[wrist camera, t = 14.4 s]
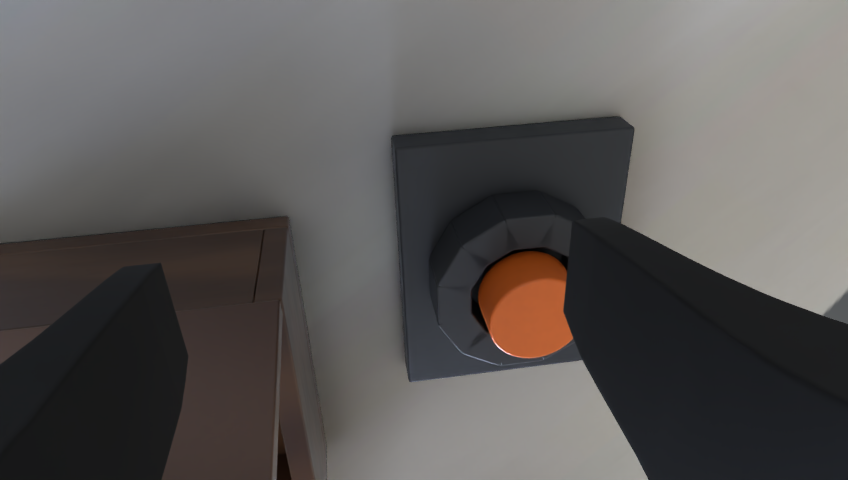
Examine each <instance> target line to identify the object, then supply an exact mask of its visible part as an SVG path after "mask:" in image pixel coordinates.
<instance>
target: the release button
mask: <svg viewBox="0 0 848 480" xmlns="http://www.w3.org/2000/svg"><path fill="white" fill-rule="evenodd" d="M566 278H567V270H566V269H565V267H564V266H563V265H562V263H561V262H560V261H559V260H558V259H556V258H555V257H553V256H551V255H549V254H546V253H543V252H538V251H523V252H518V253H515V254H512V255H509V256H507V257H505V258H503V259H501V260H500V261H498V262H497V263H496V264H495V265H493V266H492V267H491V268H490V269H489V270H488V272H487V273H486V274H485V276H484V278H483V279H482V281H481V284H480V287H479V291H478V302H479V306H480V309H481V312H482V314H483V317H484V320H485V322H486V325H487V328H488V330H489V333H490V336H491V338H492V340H493V342H494V343H495V344H496V346H497V347H498V348H500V349H501V350H502V351H504V352H505V353H507V354H509V355H512V356H515V357H520V358H536V357H542V356H545V355H548V354H551V353H553V352H555V351H557V350H559V349H561V348H562V347H564V346H565V345H567V344H568V343H569V342H570V341H571V340H572V339H573V336H572V334H571V331H570V328H569V326H568V323H567V320H566V318H565V315H564V312H563V308H564V298H565V288H566Z"/></svg>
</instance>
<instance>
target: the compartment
mask: <svg viewBox="0 0 848 480" xmlns="http://www.w3.org/2000/svg"><path fill="white" fill-rule="evenodd" d="M153 263H161V265H162V268H163V271H164V275H165V278H166V282H167V285H168V288H169V292H170V295H171V298H172V302H173V305H174V309H175V311H183V310H192V309H201V308H210V307H219V306H228V305H237V304H246V303H255V302H264V301H273V300H279V301H280V304H281V309H282V314H283V318H282V345H281V372H280V400H279V427H278V454H277V480H327V459H326V458H327V446H326V440H325V433H324V427H323V421H322V415H321V409H320V403H319V397H318V391H317V385H316V379H315V372H314V366H313V360H312V354H311V348H310V342H309V336H308V330H307V324H306V318H305V311H304V305H303V299H302V293H301V287H300V281H299V275H298V269H297V263H296V256H295V250H294V244H293V238H292V232H291V226H290V220H289V217H288V216H284V217H274V218H264V219H254V220H243V221H233V222H223V223H213V224H202V225H192V226H182V227H172V228H161V229H151V230H141V231H131V232H120V233H110V234H100V235H90V236H79V237H69V238H59V239H49V240H38V241H28V242H18V243H8V244H0V331H4V330H13V329H22V328H31V327H40V326H49V325H51V324H53V323H54V322H55V321H56V320H57V319H59V318H60V317H61V316H62V315H63V314H65V313H66V312H67V311H68V310H70V309H71V308H72V307H73V306H74V305H76V304H77V303H78V302H79V301H80V300H82V299H83V298H84V297H85V296H86V295H88V294H89V293H90V292H91V291H92V290H94V289H95V288H96V287H97V286H98V285H100V284H101V283H102V282H103V281H105V280H106V279H107V278H108V277H110V276H111V275H112V274H114V273H115V272H116V271H118V270H119V269H121V268H122V267H124V266H134V265H143V264H153Z"/></svg>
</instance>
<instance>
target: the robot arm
mask: <svg viewBox="0 0 848 480" xmlns="http://www.w3.org/2000/svg"><path fill="white" fill-rule="evenodd" d="M563 312H564V315H565V318H566V320H567V323H568V326H569V328H570V331H571V334H572V336H573V339H574V341H575V344H576V346H577V349H578V351H579V354H580V356H581V358H582V360H583V362H584V364H585V366H586V367H587V369H588V371H589V373H590V375H591V376H592V378H593V380H594V382H595V384H596V385H597V387H598V389H599V391H600V393H601V394H602V396H603V398H604V400H605V401H606V403H607V405H608V407H609V408H610V410H611V412H612V414H613V415H614V417H615V419H616V421H617V422H618V424H619V426H620V428H621V430H622V431H623V433H624V435H625V437H626V438H627V440H628V442H629V444H630V445H631V447H632V449H633V451H634V452H635V454H636V456H637V458H638V460H639V462H640V464H641V466H642V468H643V470H644V472H645V474H646V475H647V477H648V479H649V480H848V324H846V323H843V322H839V321H837V320H833V319H830V318H827V317H825V316H822V315H819V314H816V313H814V312H811V311H808V310H806V309H803V308H800V307H797V306H795V305H792V304H789V303H787V302H784V301H781V300H779V299H776V298H774V297H771V296H769V295H767V294H764V293H762V292H759V291H757V290H755V289H753V288H750V287H748V286H746V285H744V284H741V283H739V282H737V281H735V280H733V279H730V278H728V277H726V276H724V275H722V274H719V273H717V272H715V271H713V270H711V269H709V268H707V267H705V266H703V265H701V264H699V263H697V262H695V261H693V260H691V259H689V258H687V257H685V256H683V255H681V254H679V253H677V252H675V251H673V250H671V249H669V248H668V247H666V246H664V245H662V244H660V243H658V242H656V241H654V240H652V239H650V238H648V237H646V236H645V235H643V234H641V233H639V232H637V231H635V230H633V229H631V228H629V227H627V226H625V225H623V224H621V223H618V222H616V221H614V220H611V219H609V218H606V217H598V218H589V219H579V220H572V228H571V238H570V248H569V258H568V268H567V278H566V288H565V298H564V308H563ZM187 364H188V353H187V349H186V346H185V342H184V339H183V336H182V332H181V329H180V325H179V322H178V319H177V315H176V312H175V309H174V305H173V302H172V298H171V295H170V292H169V288H168V285H167V282H166V278H165V275H164V271H163V268H162V265H161V263H153V264H143V265H134V266H124V267H122V268H121V269H119V270H118V271H116V272H115V273H114V274H112V275H111V276H110V277H108V278H107V279H106V280H105V281H103V282H102V283H101V284H100V285H98V286H97V287H96V288H95V289H94V290H92V291H91V292H90V293H89V294H88V295H86V296H85V297H84V298H83V299H82V300H80V301H79V302H78V303H77V304H76V305H74V306H73V307H72V308H71V309H70V310H68V311H67V312H66V313H65V314H63V315H62V316H61V317H60V318H59V319H57V320H56V321H55V322H54V323H53V324H51V325H50V326H49V327H48V328H46V329H45V330H44V331H43V332H42V333H40V334H39V335H38V336H37V337H35V338H34V339H33V340H32V341H30V342H29V343H28V344H26V345H25V346H24V347H22V348H21V349H20V350H18V351H17V352H16V353H14V354H13V355H12V356H10V357H9V358H8V359H7V360H5V361H4V362H3V363H1V364H0V480H162V476H163V473H164V469H165V466H166V462H167V459H168V455H169V452H170V448H171V445H172V441H173V438H174V434H175V430H176V427H177V423H178V420H179V416H180V412H181V408H182V402H183V395H184V389H185V381H186V373H187Z"/></svg>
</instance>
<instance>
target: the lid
mask: <svg viewBox="0 0 848 480" xmlns="http://www.w3.org/2000/svg"><path fill="white" fill-rule="evenodd" d="M175 312H176V315H177V319H178V322H179V325H180V329H181V332H182V336H183V339H184V342H185V346H186V349H187V353H188V364H187V373H186V381H185V389H184V395H183V402H182V408H181V412H180V416H179V420H178V423H177V427H176V430H175V434H174V438H173V441H172V445H171V448H170V452H169V455H168V459H167V462H166V466H165V469H164V473H163V476H162V480H277V454H278V427H279V400H280V372H281V345H282V318H283V314H282V309H281V304H280V301H279V300H273V301H264V302H255V303H246V304H237V305H228V306H219V307H210V308H201V309H192V310H183V311H175ZM49 326H50V325H49ZM49 326H40V327H31V328H22V329H13V330H4V331H0V364H1V363H3V362H4V361H5V360H7V359H8V358H9V357H10V356H12V355H13V354H14V353H16V352H17V351H18V350H20V349H21V348H22V347H24V346H25V345H26V344H28V343H29V342H30V341H32V340H33V339H34V338H35V337H37V336H38V335H39V334H40V333H42V332H43V331H44V330H45V329H46V328H48V327H49Z"/></svg>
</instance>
